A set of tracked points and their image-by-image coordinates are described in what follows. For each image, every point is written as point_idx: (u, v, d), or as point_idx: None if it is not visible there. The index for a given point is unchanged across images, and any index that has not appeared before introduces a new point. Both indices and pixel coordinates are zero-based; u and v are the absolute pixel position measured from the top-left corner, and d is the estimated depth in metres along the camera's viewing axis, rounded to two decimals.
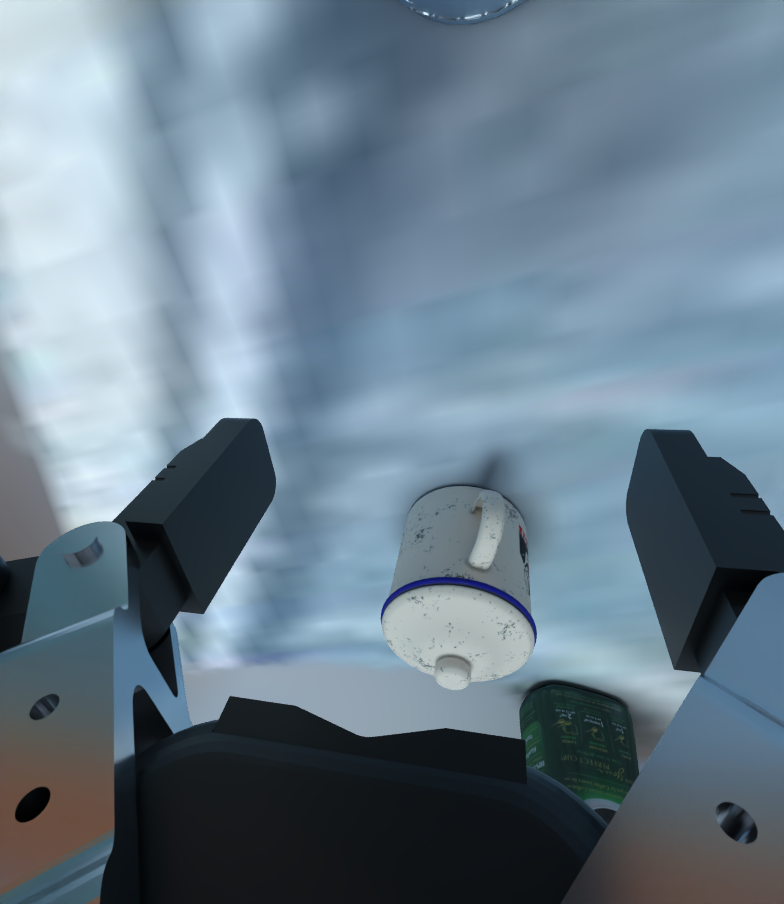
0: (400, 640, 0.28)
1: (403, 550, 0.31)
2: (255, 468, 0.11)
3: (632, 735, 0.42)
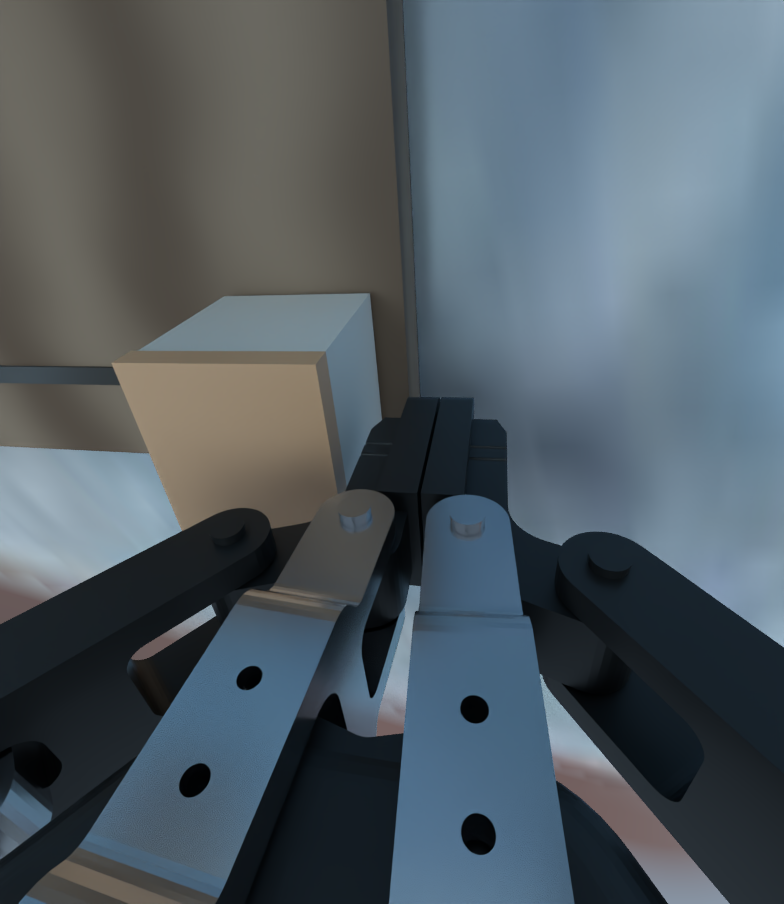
0: None
1: None
2: None
3: None
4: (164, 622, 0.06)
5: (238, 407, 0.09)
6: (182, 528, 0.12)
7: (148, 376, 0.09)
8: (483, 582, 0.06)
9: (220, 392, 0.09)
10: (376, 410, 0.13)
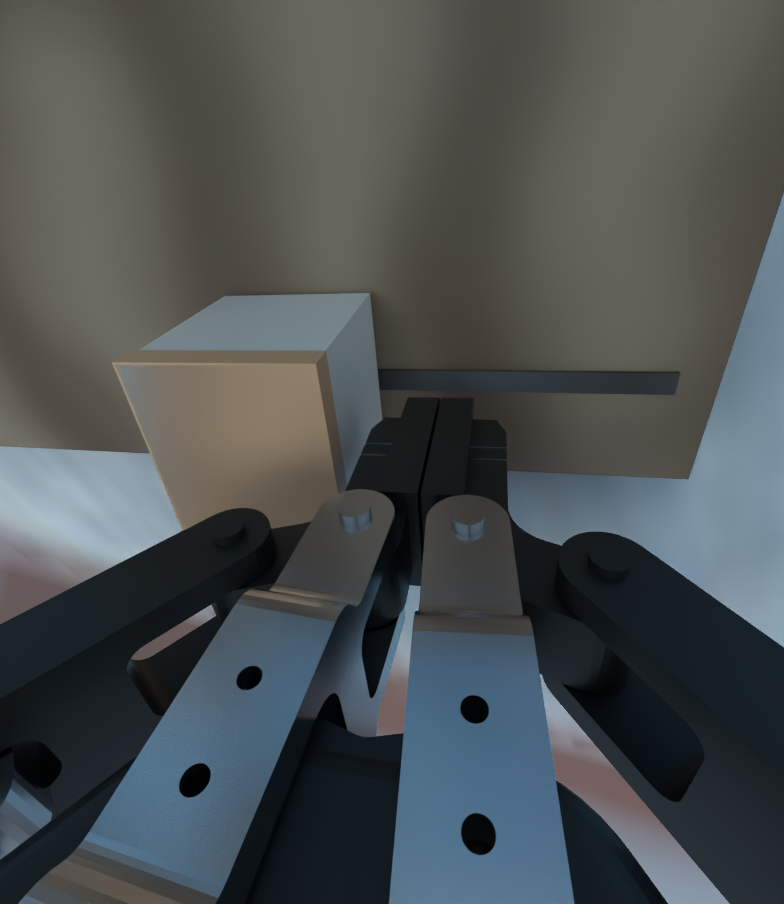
0: None
1: None
2: None
3: None
4: (164, 622, 0.06)
5: (238, 406, 0.09)
6: (182, 528, 0.12)
7: (148, 375, 0.09)
8: (483, 582, 0.06)
9: (221, 391, 0.09)
10: (376, 410, 0.13)
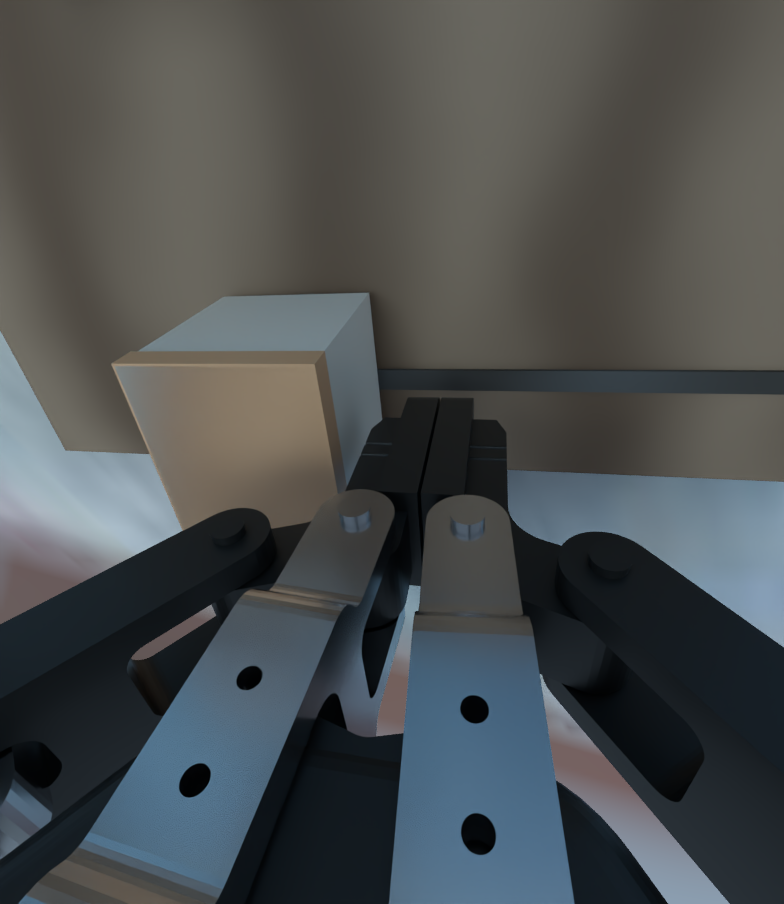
0: None
1: None
2: None
3: None
4: (164, 622, 0.06)
5: (238, 407, 0.09)
6: (183, 528, 0.12)
7: (147, 376, 0.09)
8: (483, 582, 0.06)
9: (220, 392, 0.09)
10: (376, 410, 0.13)
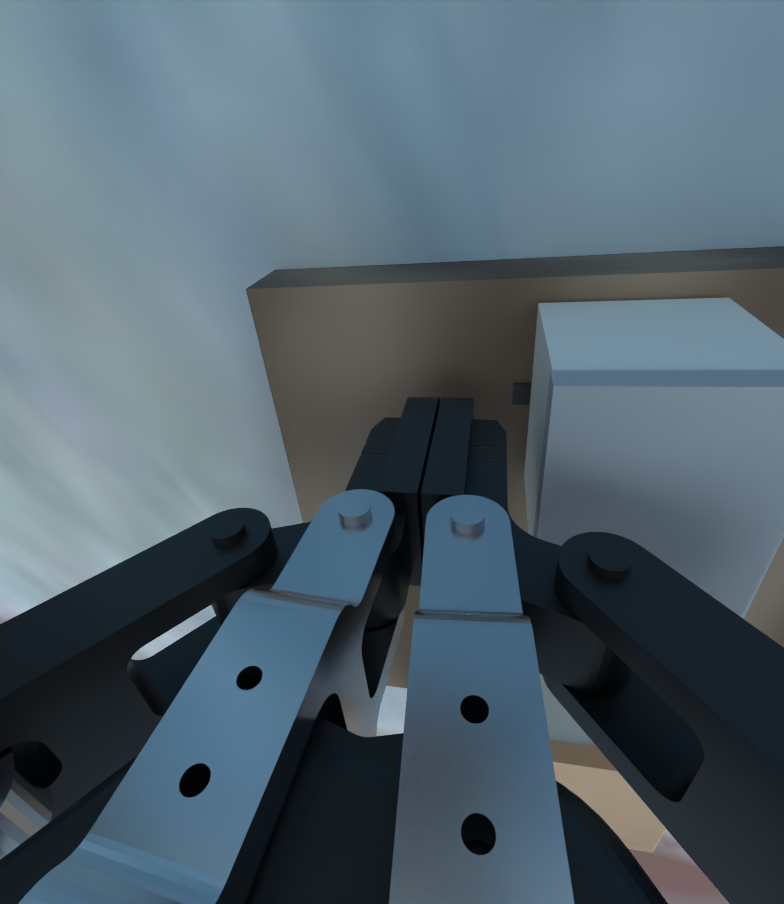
0: None
1: None
2: None
3: None
4: (164, 622, 0.06)
5: (619, 786, 0.14)
6: None
7: (560, 767, 0.14)
8: (483, 582, 0.06)
9: (611, 780, 0.14)
10: None
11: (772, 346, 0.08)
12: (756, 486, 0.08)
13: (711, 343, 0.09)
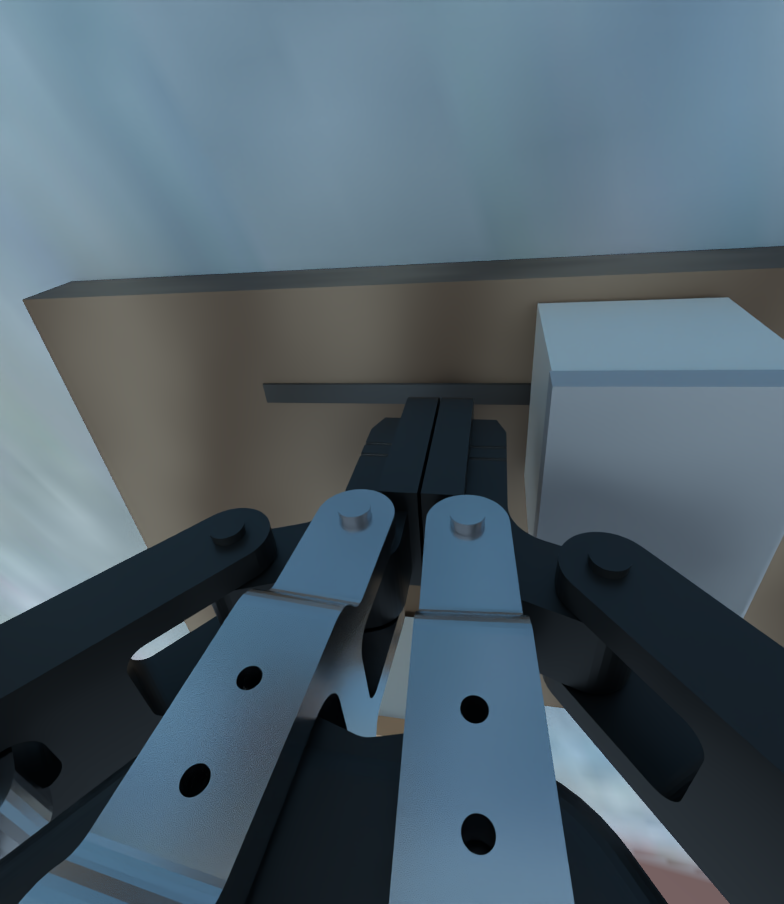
0: None
1: None
2: None
3: None
4: (164, 622, 0.06)
5: None
6: None
7: None
8: (483, 582, 0.06)
9: None
10: None
11: (771, 346, 0.08)
12: (755, 485, 0.08)
13: (709, 343, 0.09)
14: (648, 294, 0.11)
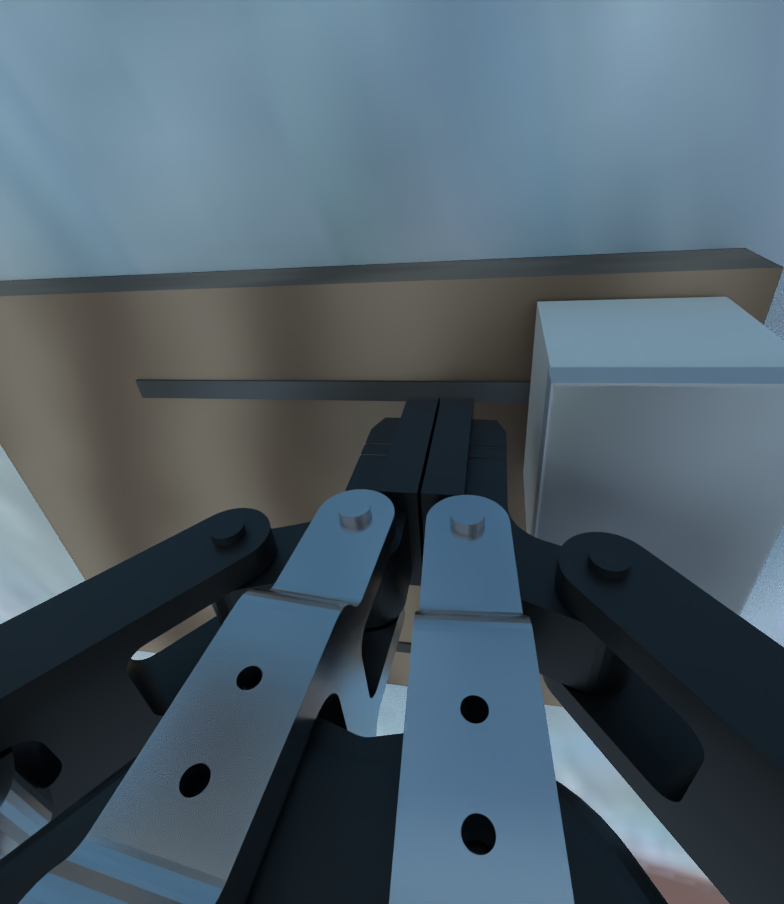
0: None
1: None
2: None
3: None
4: (164, 622, 0.06)
5: None
6: None
7: None
8: (483, 582, 0.06)
9: None
10: None
11: (769, 344, 0.08)
12: (751, 482, 0.08)
13: (708, 340, 0.09)
14: (458, 298, 0.12)
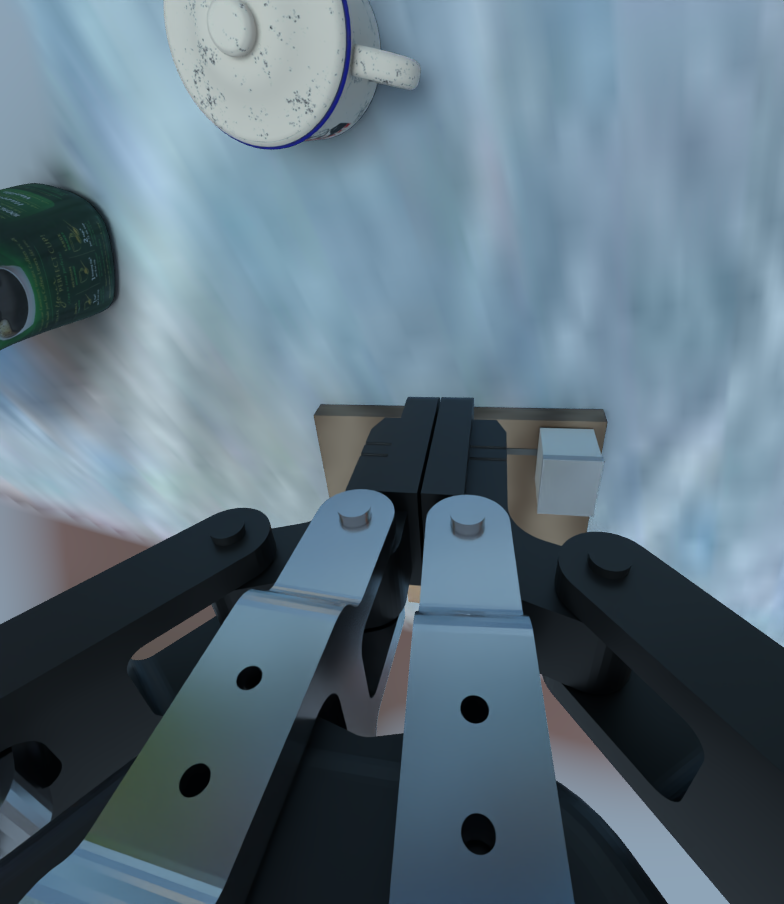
0: None
1: None
2: None
3: (92, 313, 0.39)
4: (164, 622, 0.06)
5: None
6: (408, 595, 0.46)
7: None
8: (483, 582, 0.06)
9: None
10: None
11: (595, 448, 0.35)
12: (589, 481, 0.35)
13: (581, 447, 0.36)
14: (514, 425, 0.39)
